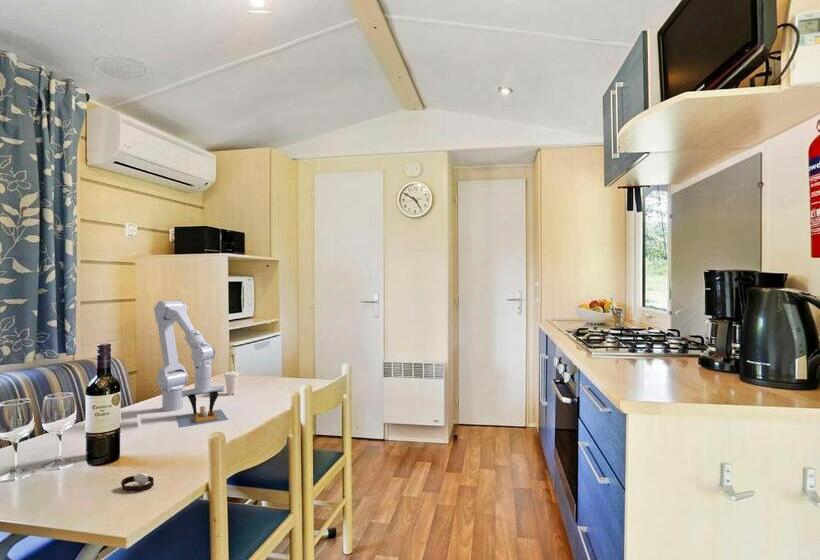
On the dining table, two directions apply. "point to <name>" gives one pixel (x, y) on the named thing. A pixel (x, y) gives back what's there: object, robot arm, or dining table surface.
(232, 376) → the smoothie
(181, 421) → the stand
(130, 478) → the watch
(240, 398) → the dining table surface
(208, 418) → the loop
